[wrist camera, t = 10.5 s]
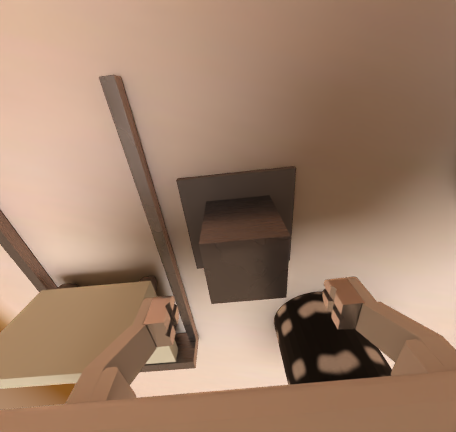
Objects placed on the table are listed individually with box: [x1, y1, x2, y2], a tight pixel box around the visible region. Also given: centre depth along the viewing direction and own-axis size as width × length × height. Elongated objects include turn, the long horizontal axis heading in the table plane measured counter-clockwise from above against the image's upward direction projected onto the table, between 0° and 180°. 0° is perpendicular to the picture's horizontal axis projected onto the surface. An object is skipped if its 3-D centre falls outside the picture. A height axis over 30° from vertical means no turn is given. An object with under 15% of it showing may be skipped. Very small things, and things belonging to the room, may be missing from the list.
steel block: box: [199, 195, 290, 304], centre depth 13 cm, size 4×4×5 cm
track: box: [0, 75, 199, 372], centre depth 16 cm, size 25×12×3 cm, turn 6°
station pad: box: [176, 167, 296, 269], centre depth 15 cm, size 8×8×1 cm
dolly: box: [0, 276, 178, 389], centre depth 17 cm, size 10×9×8 cm
